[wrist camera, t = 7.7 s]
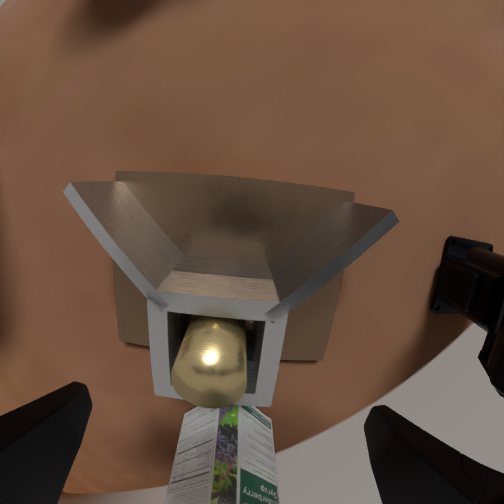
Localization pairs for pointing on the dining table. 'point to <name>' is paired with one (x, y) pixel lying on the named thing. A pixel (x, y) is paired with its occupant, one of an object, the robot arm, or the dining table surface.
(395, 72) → the dining table surface
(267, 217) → the hinge
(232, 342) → the hinge pin
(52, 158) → the dining table surface
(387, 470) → the robot arm
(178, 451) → the syrup box
